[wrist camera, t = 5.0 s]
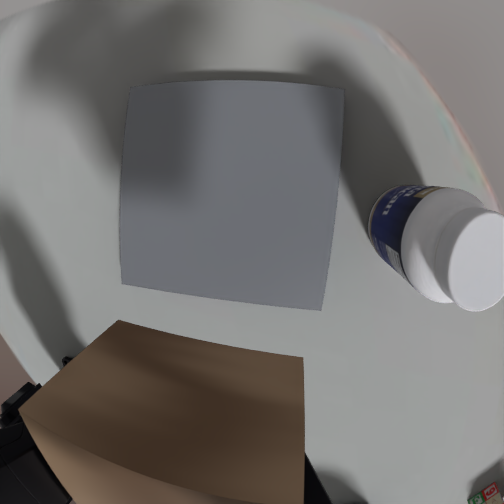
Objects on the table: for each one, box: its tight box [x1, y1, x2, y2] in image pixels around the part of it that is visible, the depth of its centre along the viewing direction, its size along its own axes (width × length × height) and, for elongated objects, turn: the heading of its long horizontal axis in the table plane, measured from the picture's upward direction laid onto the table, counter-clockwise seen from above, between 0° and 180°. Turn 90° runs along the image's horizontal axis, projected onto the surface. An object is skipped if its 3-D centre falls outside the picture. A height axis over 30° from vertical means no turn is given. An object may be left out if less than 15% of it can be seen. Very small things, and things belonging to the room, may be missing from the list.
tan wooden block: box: [18, 320, 305, 504], centre depth 7 cm, size 6×6×5 cm
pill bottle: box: [368, 185, 504, 312], centre depth 13 cm, size 5×5×10 cm
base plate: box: [120, 80, 345, 311], centre depth 18 cm, size 14×14×1 cm
